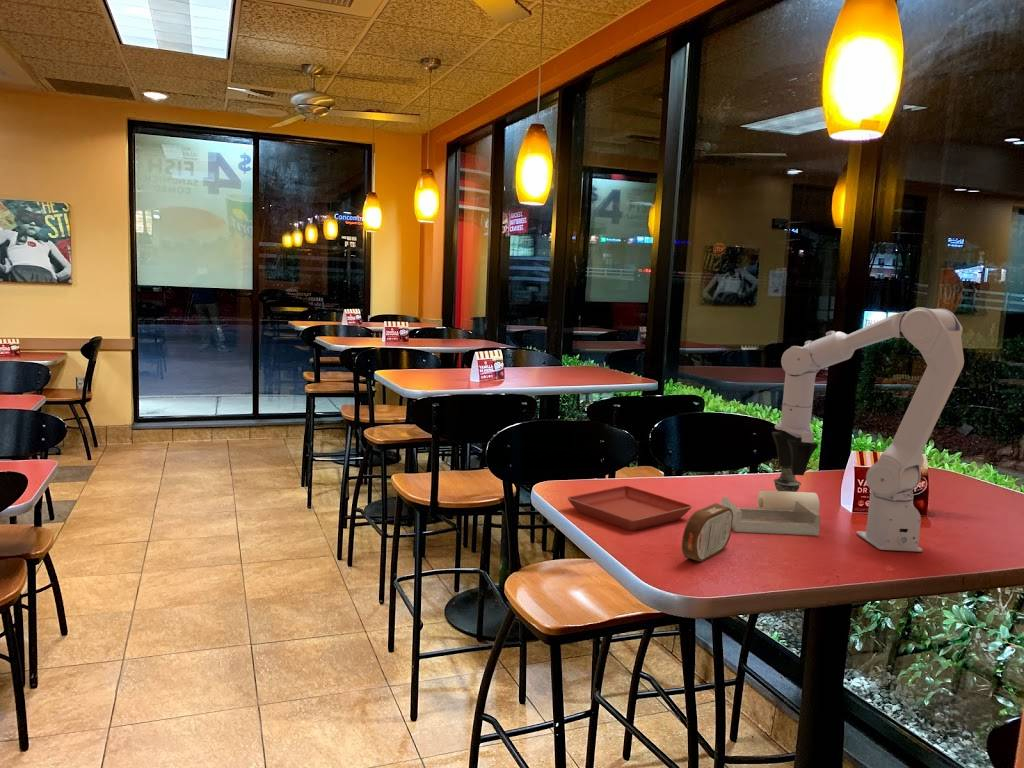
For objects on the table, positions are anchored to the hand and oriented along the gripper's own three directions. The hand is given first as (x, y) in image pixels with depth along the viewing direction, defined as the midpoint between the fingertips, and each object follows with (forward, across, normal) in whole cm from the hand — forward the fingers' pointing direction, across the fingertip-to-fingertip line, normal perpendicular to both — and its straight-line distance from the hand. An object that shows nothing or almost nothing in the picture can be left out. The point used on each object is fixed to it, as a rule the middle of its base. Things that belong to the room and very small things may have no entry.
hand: (791, 470), depth 158 cm
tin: (+10, +28, -24) cm, 38 cm away
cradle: (+9, +9, -7) cm, 14 cm away
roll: (+10, 0, 0) cm, 10 cm away
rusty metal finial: (+10, -14, +5) cm, 18 cm away
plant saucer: (+10, +6, -34) cm, 36 cm away
